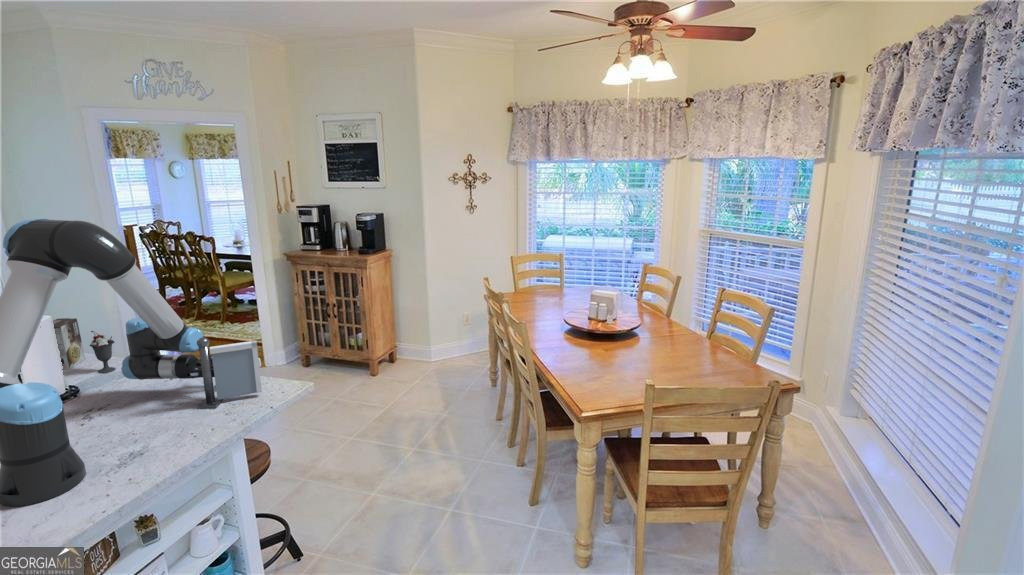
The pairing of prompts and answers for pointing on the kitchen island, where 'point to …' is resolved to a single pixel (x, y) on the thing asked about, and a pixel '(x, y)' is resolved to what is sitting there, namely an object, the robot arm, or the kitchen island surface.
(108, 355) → the sundae
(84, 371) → the kitchen island surface
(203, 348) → the metal joystick
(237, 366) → the panel
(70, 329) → the coffee box
